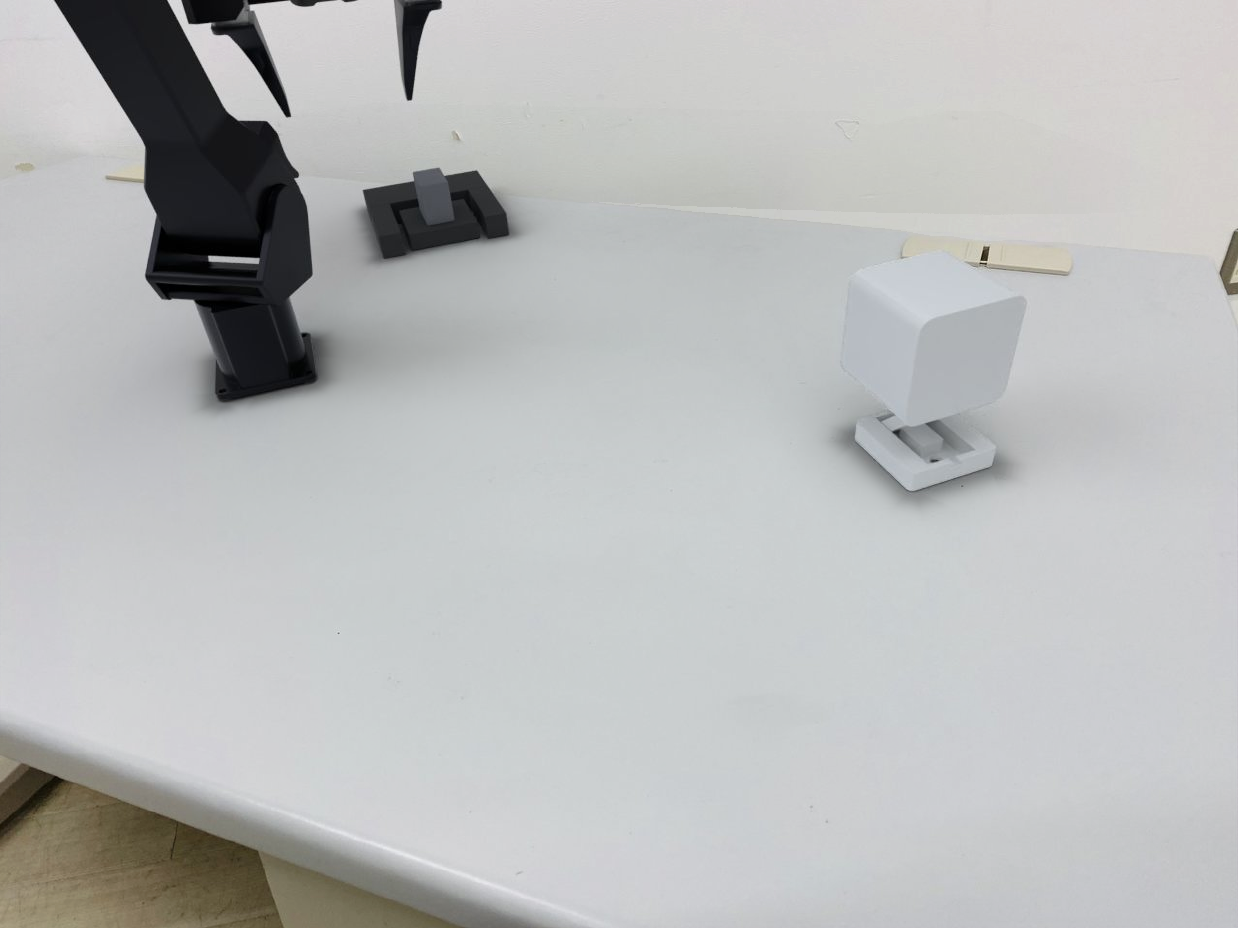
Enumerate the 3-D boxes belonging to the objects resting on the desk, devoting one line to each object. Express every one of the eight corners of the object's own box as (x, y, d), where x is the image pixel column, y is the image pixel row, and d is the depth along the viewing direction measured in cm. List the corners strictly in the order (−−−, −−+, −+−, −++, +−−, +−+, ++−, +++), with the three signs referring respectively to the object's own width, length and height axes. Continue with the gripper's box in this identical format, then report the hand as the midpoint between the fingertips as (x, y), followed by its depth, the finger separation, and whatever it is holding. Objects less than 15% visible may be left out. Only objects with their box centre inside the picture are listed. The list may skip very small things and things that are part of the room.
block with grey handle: (480, 238, 78) (471, 181, 75) (412, 251, 76) (400, 194, 73) (466, 214, 82) (457, 160, 79) (401, 226, 81) (390, 171, 78)
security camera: (922, 400, 54) (950, 246, 48) (1000, 463, 49) (1042, 299, 43) (831, 426, 53) (848, 270, 47) (902, 494, 47) (932, 329, 41)
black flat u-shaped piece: (509, 234, 78) (506, 212, 77) (383, 258, 75) (378, 236, 74) (480, 190, 87) (477, 170, 86) (367, 210, 85) (362, 189, 83)
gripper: (134, -116, 51) (220, 156, 61) (453, -141, 56) (488, 117, 65) (151, -125, 60) (225, 115, 69) (426, -146, 64) (461, 83, 73)
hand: (349, 108), depth 69 cm, fingers open, 9 cm apart
